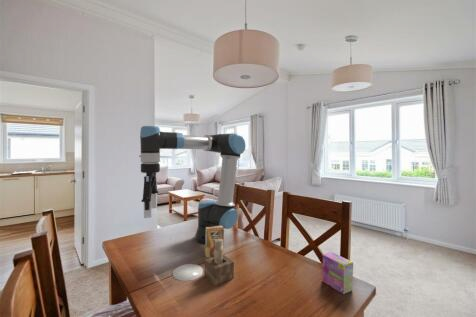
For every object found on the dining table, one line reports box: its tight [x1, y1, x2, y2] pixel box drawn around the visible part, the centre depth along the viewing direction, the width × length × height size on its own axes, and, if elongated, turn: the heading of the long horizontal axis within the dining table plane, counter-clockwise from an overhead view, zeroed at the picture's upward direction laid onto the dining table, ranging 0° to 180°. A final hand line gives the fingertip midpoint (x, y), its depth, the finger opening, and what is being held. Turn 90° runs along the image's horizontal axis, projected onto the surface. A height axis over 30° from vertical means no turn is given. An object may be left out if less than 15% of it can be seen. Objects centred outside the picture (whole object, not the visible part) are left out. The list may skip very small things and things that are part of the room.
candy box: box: [204, 226, 225, 258], centre depth 115 cm, size 9×4×15 cm, turn 110°
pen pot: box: [203, 254, 235, 287], centre depth 96 cm, size 9×9×8 cm
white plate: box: [172, 263, 204, 282], centre depth 99 cm, size 13×13×1 cm
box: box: [321, 251, 354, 295], centre depth 93 cm, size 10×6×12 cm, turn 29°
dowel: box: [214, 239, 224, 265], centre depth 95 cm, size 4×4×16 cm
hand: (150, 212), depth 96 cm, fingers open, 13 cm apart
